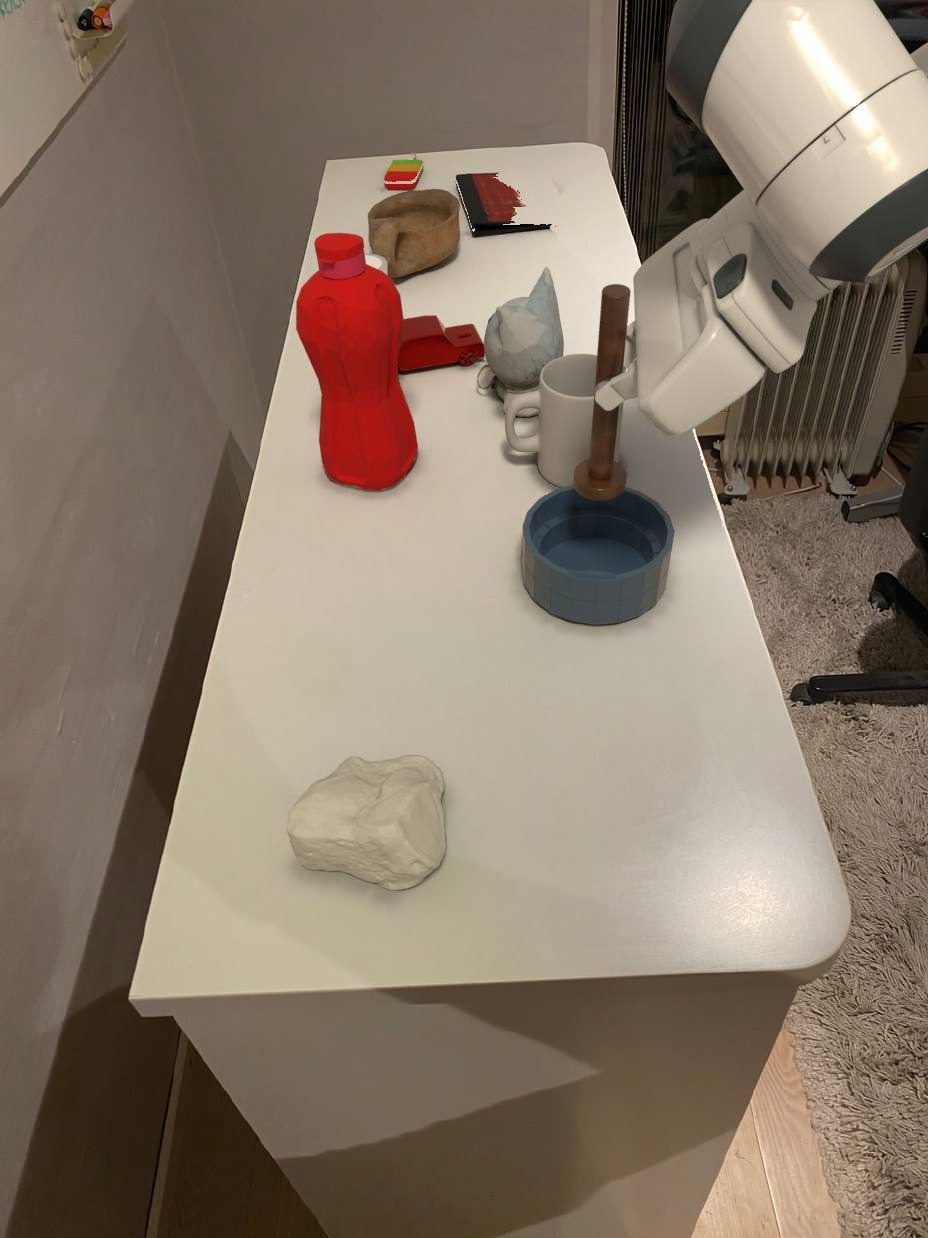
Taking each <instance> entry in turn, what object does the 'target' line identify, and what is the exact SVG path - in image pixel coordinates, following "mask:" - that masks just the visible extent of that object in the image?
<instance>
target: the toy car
mask: <svg viewBox="0 0 928 1238" xmlns="http://www.w3.org/2000/svg"><path fill="white" fill-rule="evenodd" d="M470 355H471V356H470ZM463 357H464V358H463ZM462 358H463V359H462ZM476 358H477V359H482V358H483V359H484V358H486V357H485V352H484V340H482V338H481V336H480V334H479V331H478V329H477V328H476V326H475V324H473V323H466V324H460V325H453V326H447V327H446V326H445V325H444V323H443V322H442V321H441V320H440V318H439V317H438V316H437V315H436V314H431V315H421V316H420V315H419V316H414V317H407V318H404V320H403V327H402V335H401V342H400V349H399V357H398V364H397V369H398V370H400V372H405V371H410V370H416V369H423V368H429V367H435V366H441V365H446V364H452V363H458V362H459V364H460V365H462V366H463V367H469V366H471V365H473V364H474V363H475V361H476Z"/></svg>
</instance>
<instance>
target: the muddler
mask: <svg viewBox="0 0 928 1238" xmlns="http://www.w3.org/2000/svg"><path fill="white" fill-rule="evenodd" d="M631 293H632V292H631V288H630V287H628V286H627V285H624V284H620V283H612V284H608V285H606V286H604V287H602V289H601V296H600V297H601V298H600V311H599V312H600V314H599V325H598V336H597V337H598V339H597V352H596V355H597V364H596V377H595V388H596V385H597V384H598V383H600V382H602V381H603V380H604V379H605V378H606V377H607V376H608V375H610V374H611V375H612V376H614V377H616V376H618V375H620V374H622V373H623V363H624V353H625V343H626V333H627V326H628V322H629V312H630V302H631ZM618 413H619V405H618V406H617V407H615V408H614V409H613V410H611V411H606V410H604V409H603V408H602V407H601V406H600V405H599V404H598V403H597V402H596V401H595V390H594V403H593V417H592V430H591V443H590V457H589V459H587V460H585V461H582V462H581V463H579V464H578V465H577V466H576V468H575V470H574V478H573V486H574V488H575V490H576V492H577V493H578V494H580V495H581V496H583V497H585V498H587V499H591V500H596V501H606V500H611V499H614V498H616V497H618V496H619V495H621V494H622V493H623V491H624V490H625V487H627V486H626V485H627V478H628V472H627V470H626V468H625V467H624V466H623V465H622V464H621V463H620V462H619V461H618V462H616V461H614V453H615V443H616V433H617V423H618Z"/></svg>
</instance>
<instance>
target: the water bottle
mask: <svg viewBox="0 0 928 1238" xmlns="http://www.w3.org/2000/svg"><path fill="white" fill-rule="evenodd" d="M313 246H314V251H315V254H316V261H317V266H318V270H317V271H316V272H314V273H313V274H312V275H311V276H310V277H309V278H308V279H307V281H305V283H304V284H303V285H302V286H301V288H300V290H299V293H298V296H297V299H296V301H295V330H296V333H297V335H298V338H299V339H300V342H301V344H302V346H303V349H304V351H305V353H306V355H307V358H308V360H309V362H310V365H311V366H312V369H313V372H314V373H315V376H316V378H317V380H318V386H319V389H320V393H321V400H320V414H319V431H318V445H319V452H320V458H321V463H322V466H323V468H324V471H325V472H326V475H327V476H328V478H329V479H330V480H332V481H334V482H336V483H338V484H340V485H342V486H349V487H350V486H352V487H357V488H359V489H362V490H365V491H377V492H379V491H382V490H385V489H388V488H391V487H394V486H395V485H397V484H398V483H399V482H401V481H402V480H403V479H404V478H405V477H406V475H407V473H408V472H409V470H410V468H411V467H412V466H414V464H415V460H416V456H417V452H418V446H419V444H418V437H417V431H416V426H415V425H416V424H415V421H414V419H413V418H414V417H413V416H412V413H411V410H410V407H409V404H408V402H407V399H406V396H405V393H404V391H403V388H402V386H401V382H400V380H399V368H398V369H397V367H398V366H397V364H398V357H399V349H400V342H401V335H402V327H403V320H404V319H405V318H404V312H403V305H402V298H401V293H400V292H399V290H398V288H397V286H396V285H395V283H394V281H393V279H392V277H389V276H388V275H386V274H385V273H384V272H383V271H381V270H378V269H376V268H374V267H372V266H370V265H367V264H366V260H365V254H366V252H365V242H364V238H363V236H361V235H358V234H356V233H355V234H354V233H348V232H328V233H322V234H320V235H319V236H317V237H316V238H315V239H314V243H313Z"/></svg>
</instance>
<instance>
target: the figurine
mask: <svg viewBox="0 0 928 1238" xmlns="http://www.w3.org/2000/svg"><path fill="white" fill-rule="evenodd" d="M554 283H555V282H554V279H553V276H552V273H551V270H550V268H549V267H548V266H545V267H544V268H543V270H542V273H541V275H540V276H539V278H538V280H537V282H536V283H535V284H534V286H533V289H532V290H531V291H530V293H529V295H528V296H520V297H515V298H512V299H510V300H508V301H506V302H504V304H502V305H501V306H497V307H496V309H495V311H494V313H493V314H492V315H491V316H490V317H489V319H488V320H487V325H486V328H485V332H484V339H483V343H484V352H485V357H484V358H485V361H486V364H484V365H483V366H482V367H481V368H480V369H479V370H478V373H477V377H476V384H477V386H478V388H480V389H481V390H488V389H491V390H492V391H494V390H496V391H497V396H498V397H499V398H500V399H501V400H502V401H503V404H502V406H501V408H502V412H503V413H504V414H505V415H506V410H507V407H508V405H509V403H510V401H511V400H512V399H513V398H514V397H516V396H517V395H520V394H523V393H527V392H532V391H537V390H538V388H539V380H540V373H541V371H542V369H543V368H544V367H545V365H547V364H548V363H549V362H551V361H552V360H554V359H556V358H559V357H562V356H564V351H565V341H564V332H563V327H562V322H561V316H560V308H559V303H558V297H557V293H556V288H555V284H554ZM486 368H487V369H488V368H489V370H490V371H491V373H492V374H493V376H492V378H491V379H490V382H489V383H488V385H487V386H482V385H481V384H480V381H479V378H480V375H481V373H482V372H483V370H485V369H486ZM534 416H539V410H538V409H534V408H526V409H522V410H520V411H519V412H518V413H517V415H516V417H519V418H531V417H534Z"/></svg>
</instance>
